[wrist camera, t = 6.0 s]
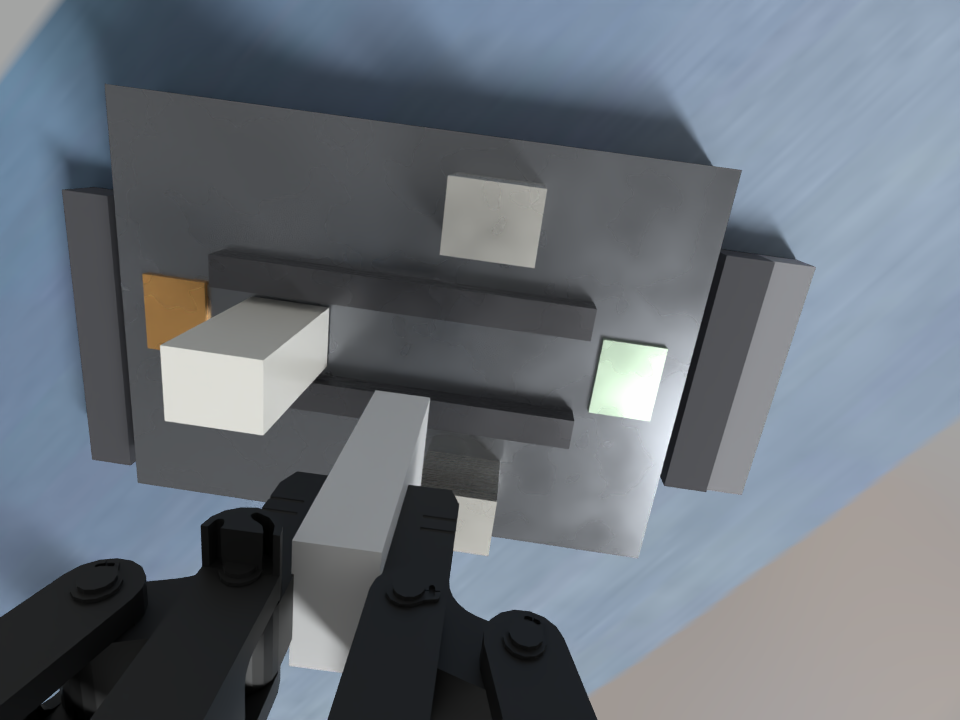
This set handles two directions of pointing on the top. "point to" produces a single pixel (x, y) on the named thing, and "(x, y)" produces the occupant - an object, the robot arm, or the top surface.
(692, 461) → the narrow gray bar
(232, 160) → the panel
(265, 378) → the lever
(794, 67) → the top surface
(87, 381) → the dark gray bar
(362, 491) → the robot arm
